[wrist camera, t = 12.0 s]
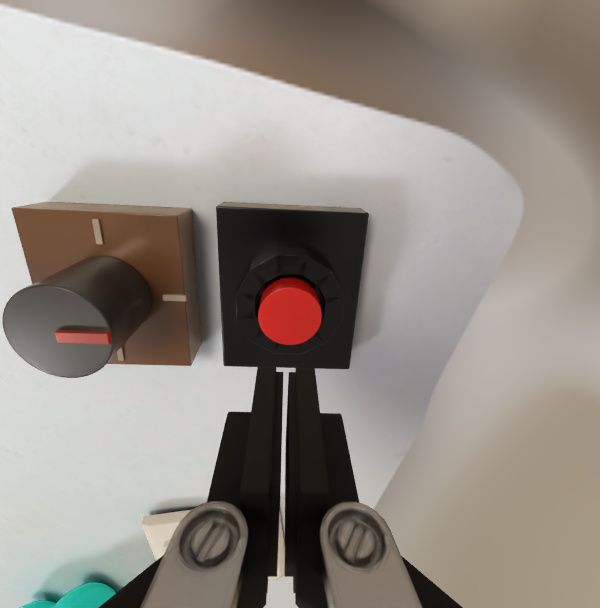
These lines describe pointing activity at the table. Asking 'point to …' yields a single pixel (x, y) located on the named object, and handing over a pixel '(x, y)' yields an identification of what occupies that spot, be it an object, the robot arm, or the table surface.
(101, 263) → the dimmer knob
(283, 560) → the light switch
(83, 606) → the donuts
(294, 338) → the power button
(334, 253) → the switch block
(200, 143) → the table surface
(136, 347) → the dimmer panel
